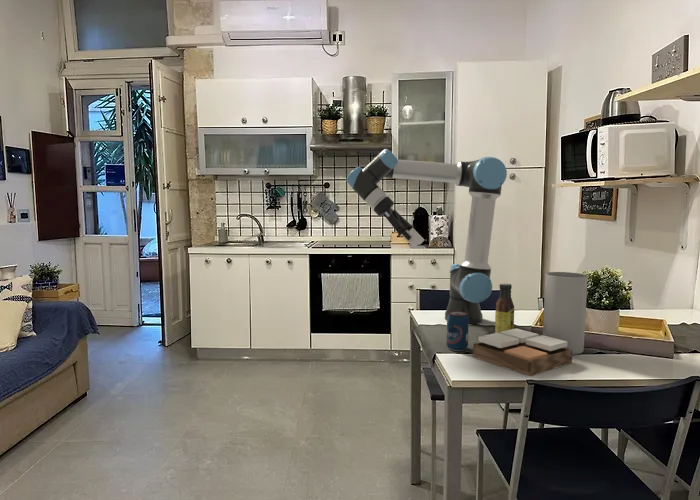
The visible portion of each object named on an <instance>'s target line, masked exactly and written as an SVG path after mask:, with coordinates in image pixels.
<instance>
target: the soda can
mask: <svg viewBox="0 0 700 500" xmlns="http://www.w3.org/2000/svg"><path fill="white" fill-rule="evenodd" d="M469 325H470V324H469V318H468V316H467V313H466V312H462V311H451V312H449V315H448V317H447V320H446V346H447V348H448V350H450V351H453V352H463V351H464V352H465V351H466V350H467V348H468V347H469Z"/></svg>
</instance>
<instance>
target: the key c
mask: <svg viewBox="0 0 700 500" xmlns="http://www.w3.org/2000/svg"><path fill="white" fill-rule="evenodd" d="M526 344H527V345H531V346H534V347H538V348H541V349H545V350H548V351H553V350H556V349H560V348H564V347H567V341H563V340H559V339H555V338H552V337H548V336H544V335H543V334H541V335H539V336H537V337H533V338H529V339H526Z"/></svg>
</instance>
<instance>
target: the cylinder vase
mask: <svg viewBox="0 0 700 500" xmlns="http://www.w3.org/2000/svg"><path fill="white" fill-rule="evenodd" d="M544 276H545V277H544V278H545V279H544V281H545V283H544V297H543V298H544V299H543V300H544V302H543V322H542V335H544V336H548V337H552V338H555V339H559V340H563V341H567V347H564V348H567V349H571V350H573V351H572V356H575V355H581V354H582V353H583V352H584V349H585V348H584V347H585V329H586V313H587V295H588V294H587V293H588V280H589V279H588V277H589V275H587V274H583V273H578V272H570V271H551V272H550V271H549V272H548V271H547V272H546V273H545V275H544Z"/></svg>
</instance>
